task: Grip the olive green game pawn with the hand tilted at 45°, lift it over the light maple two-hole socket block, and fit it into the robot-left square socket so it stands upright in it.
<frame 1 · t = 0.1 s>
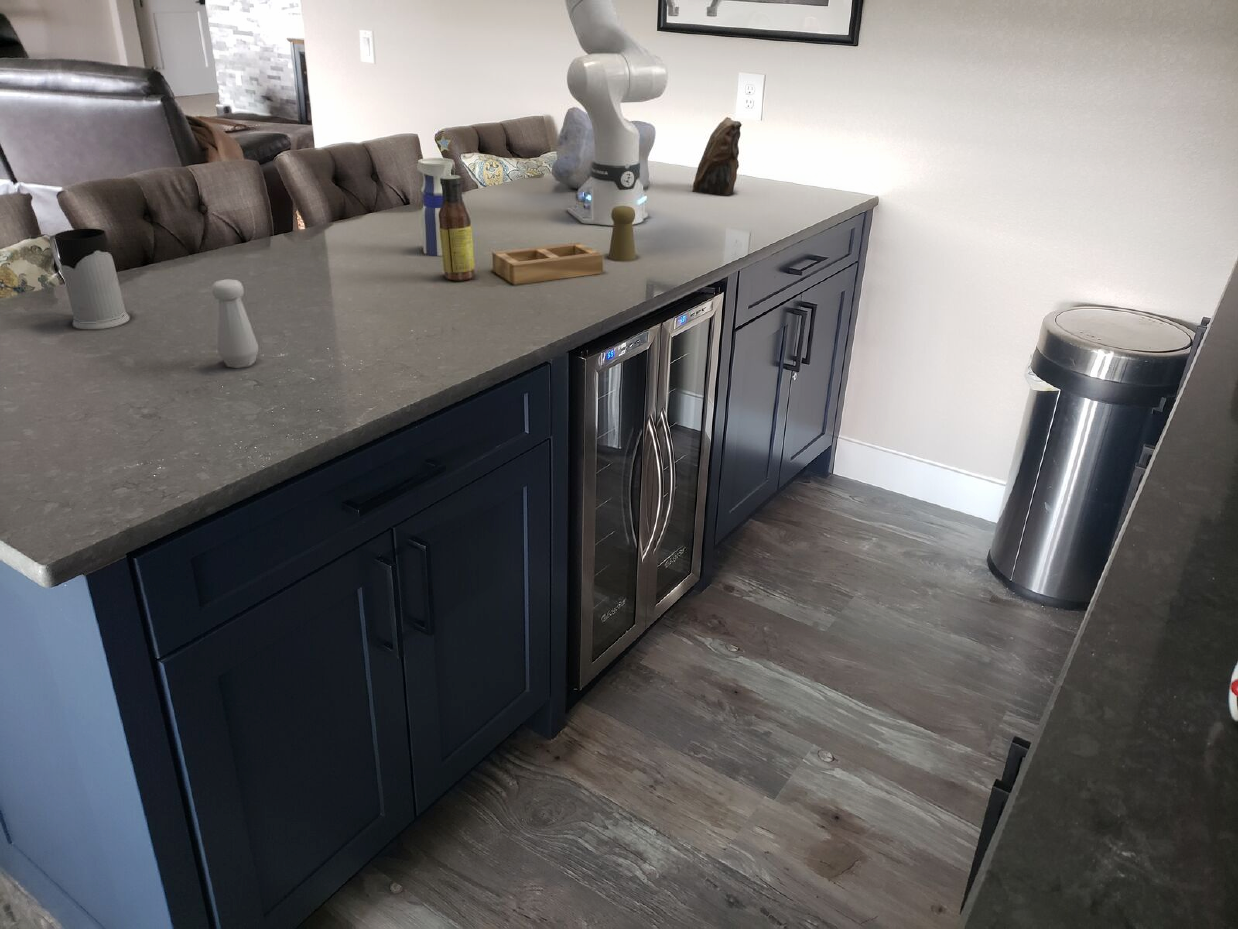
hand: (692, 16, 191), 48 cm above the countertop, tool pointing down, fingers open, 8 cm apart
salt shaker: (240, 364, 144), on the countertop
socket block: (547, 272, 193), on the countertop
sauce bottle: (459, 278, 188), on the countertop
rock: (714, 191, 272), on the countertop
rock 2: (602, 188, 273), on the countertop
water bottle: (442, 251, 206), on the countertop
olive green game pawn: (622, 258, 205), on the countertop
glass holder: (92, 319, 161), on the countertop
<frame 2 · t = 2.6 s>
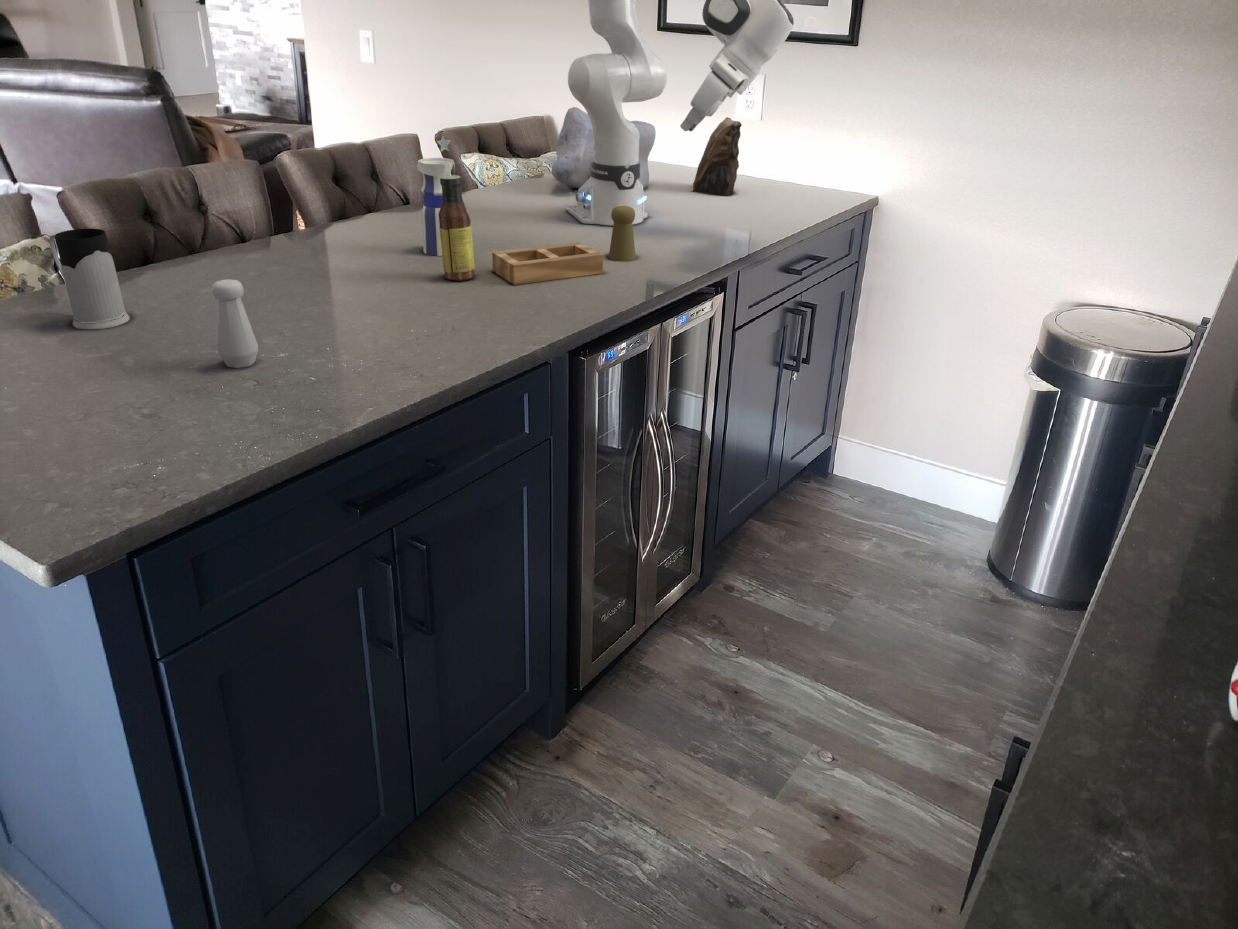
hand: (685, 129, 193), 27 cm above the countertop, tool tilted 40°, fingers open, 8 cm apart
nothing on the countertop moved.
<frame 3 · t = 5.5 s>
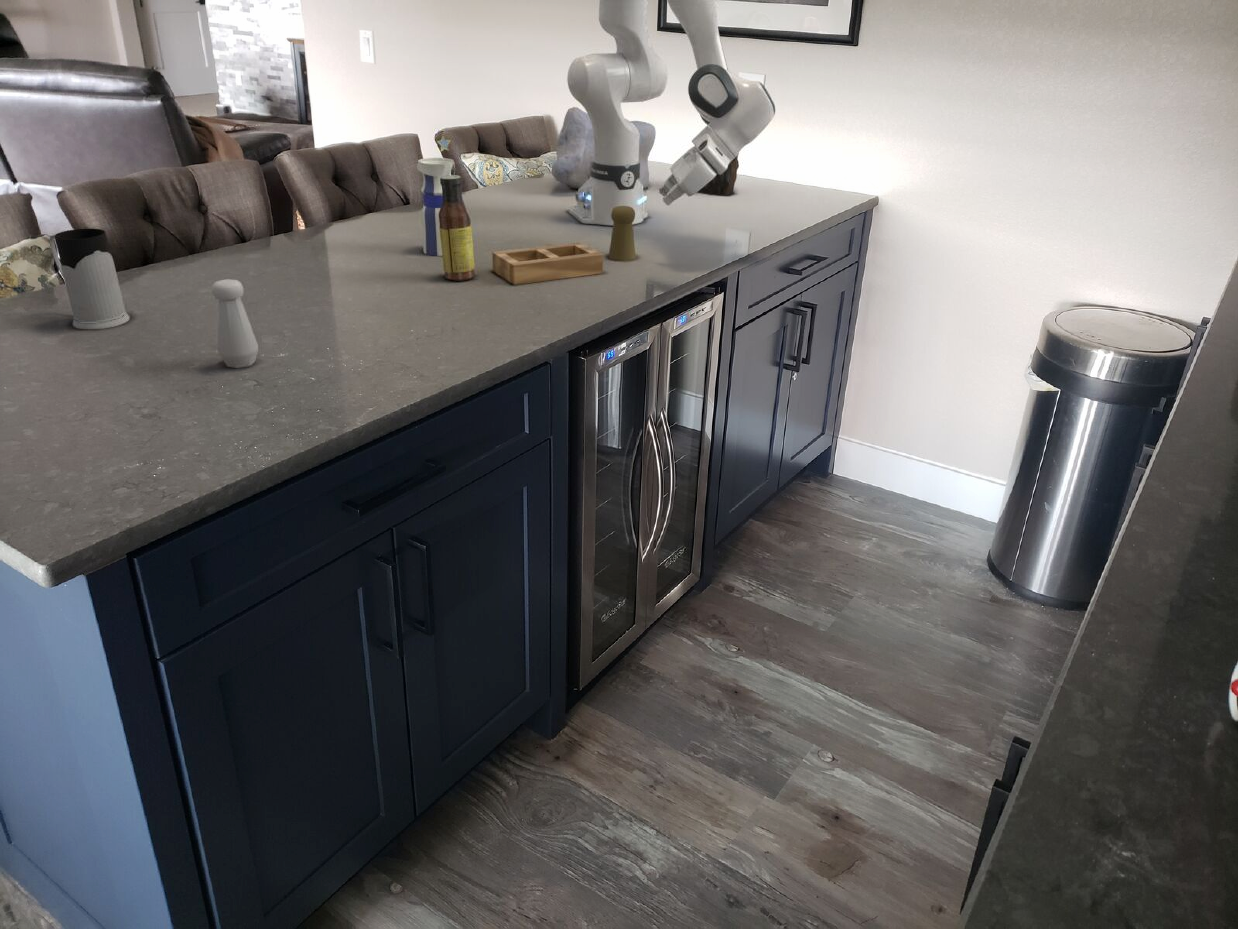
hand: (662, 197, 199), 13 cm above the countertop, tool tilted 45°, fingers open, 8 cm apart
nothing on the countertop moved.
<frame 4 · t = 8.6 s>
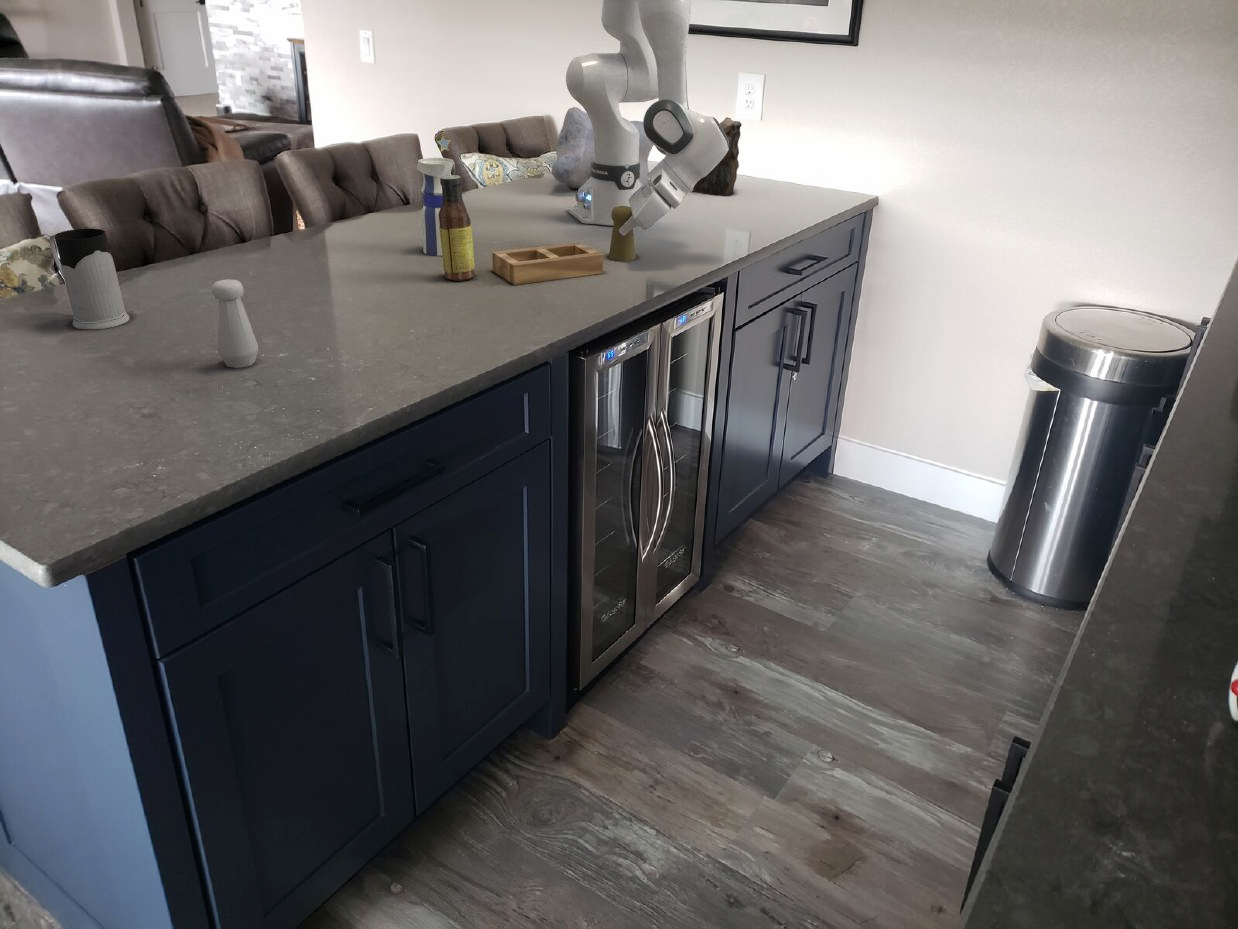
hand: (619, 229, 202), 6 cm above the countertop, tool tilted 45°, fingers closed on olive green game pawn, 4 cm apart
olive green game pawn: (622, 258, 205), on the countertop, touching gripper
everything else where it was.
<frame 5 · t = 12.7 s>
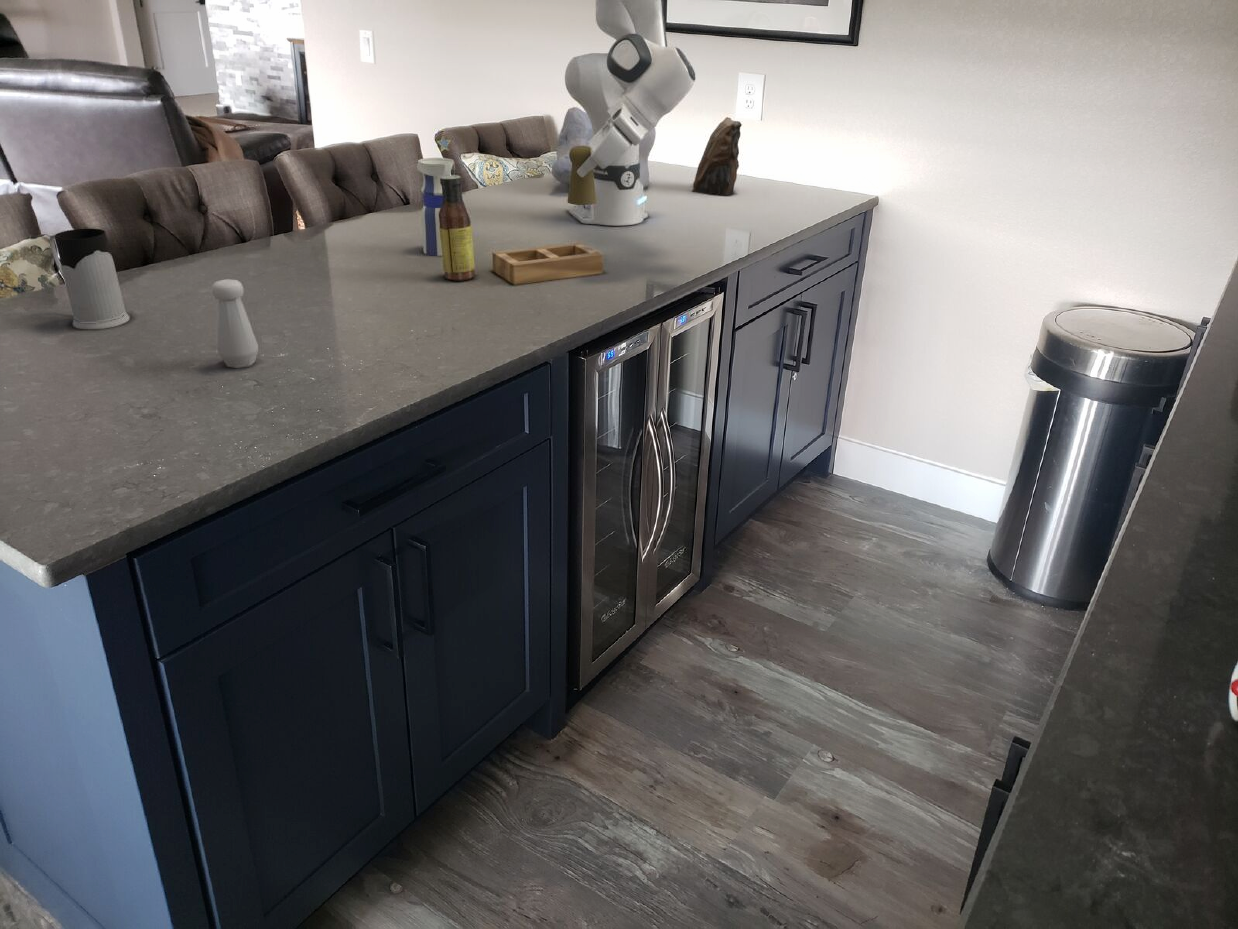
hand: (578, 171, 188), 19 cm above the countertop, tool tilted 45°, fingers closed on olive green game pawn, 4 cm apart
olive green game pawn: (582, 202, 191), point 13 cm above the countertop, touching gripper
everything else where it was.
when the fingers open (7 cm above the countertop, at t = 17.2 s): olive green game pawn stays where it is, resting in socket block.
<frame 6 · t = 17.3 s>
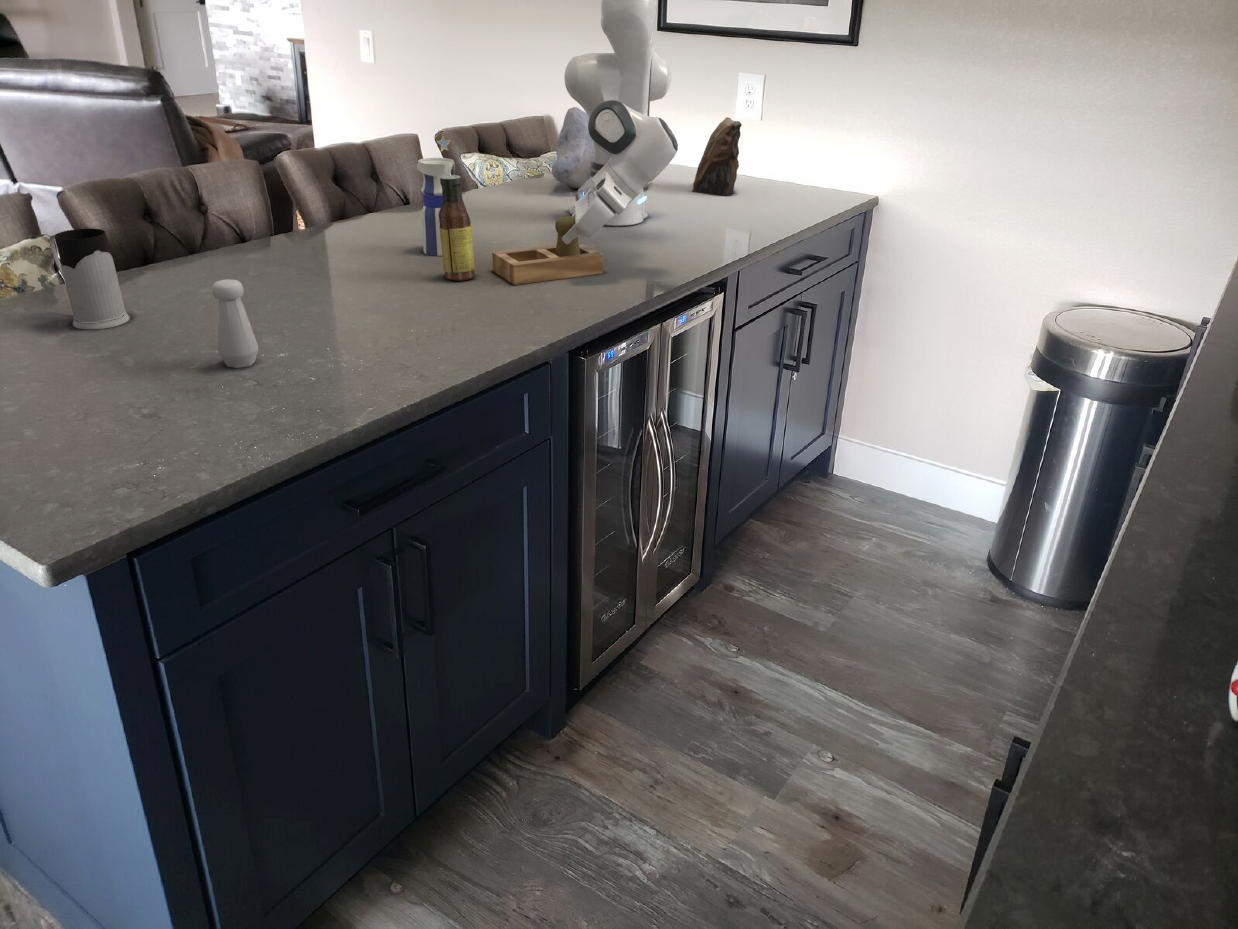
hand: (564, 236, 192), 7 cm above the countertop, tool tilted 45°, fingers open, 6 cm apart
olive green game pawn: (567, 270, 195), resting in socket block
everything else where it was.
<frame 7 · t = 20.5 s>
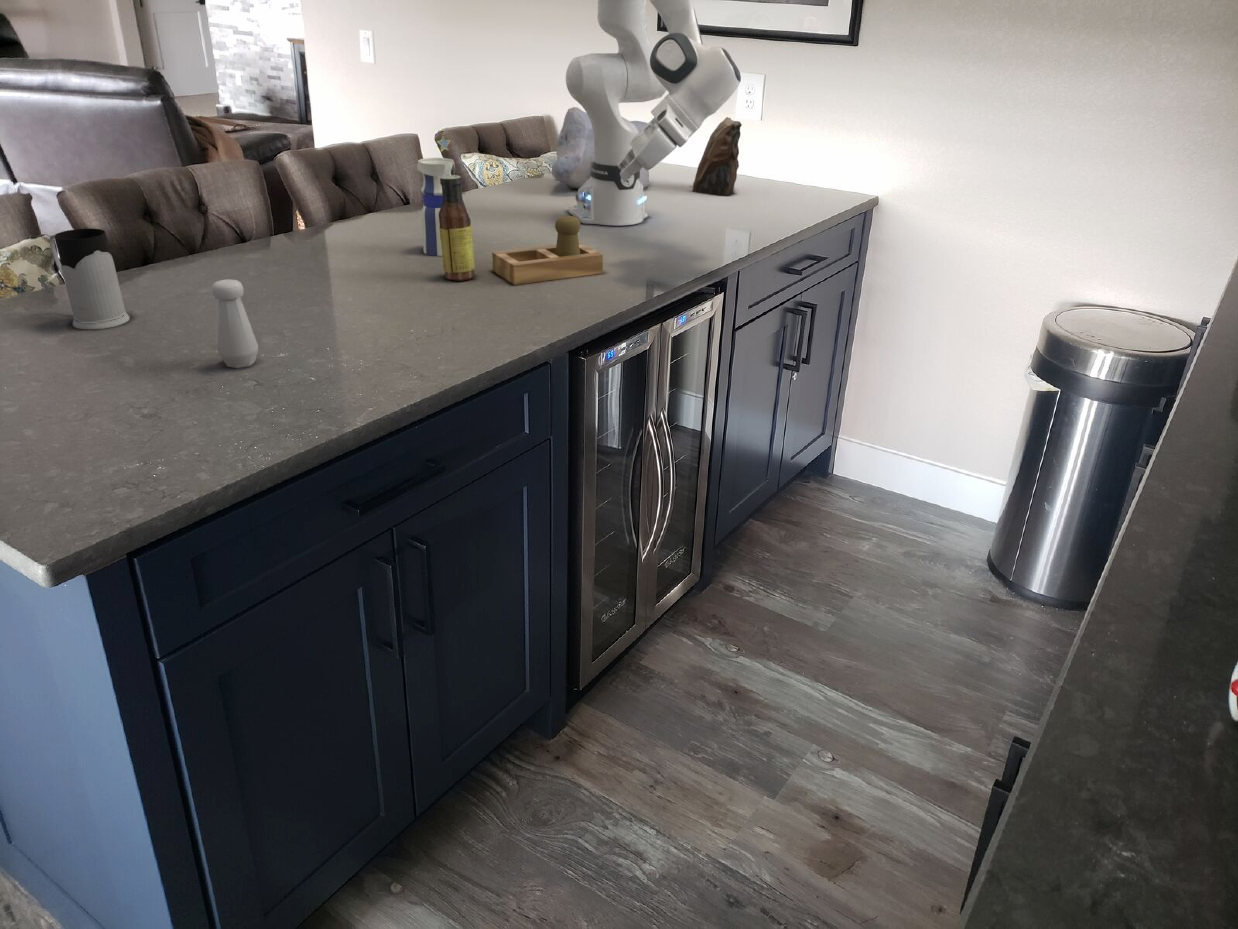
hand: (620, 173, 186), 20 cm above the countertop, tool tilted 45°, fingers open, 8 cm apart
nothing on the countertop moved.
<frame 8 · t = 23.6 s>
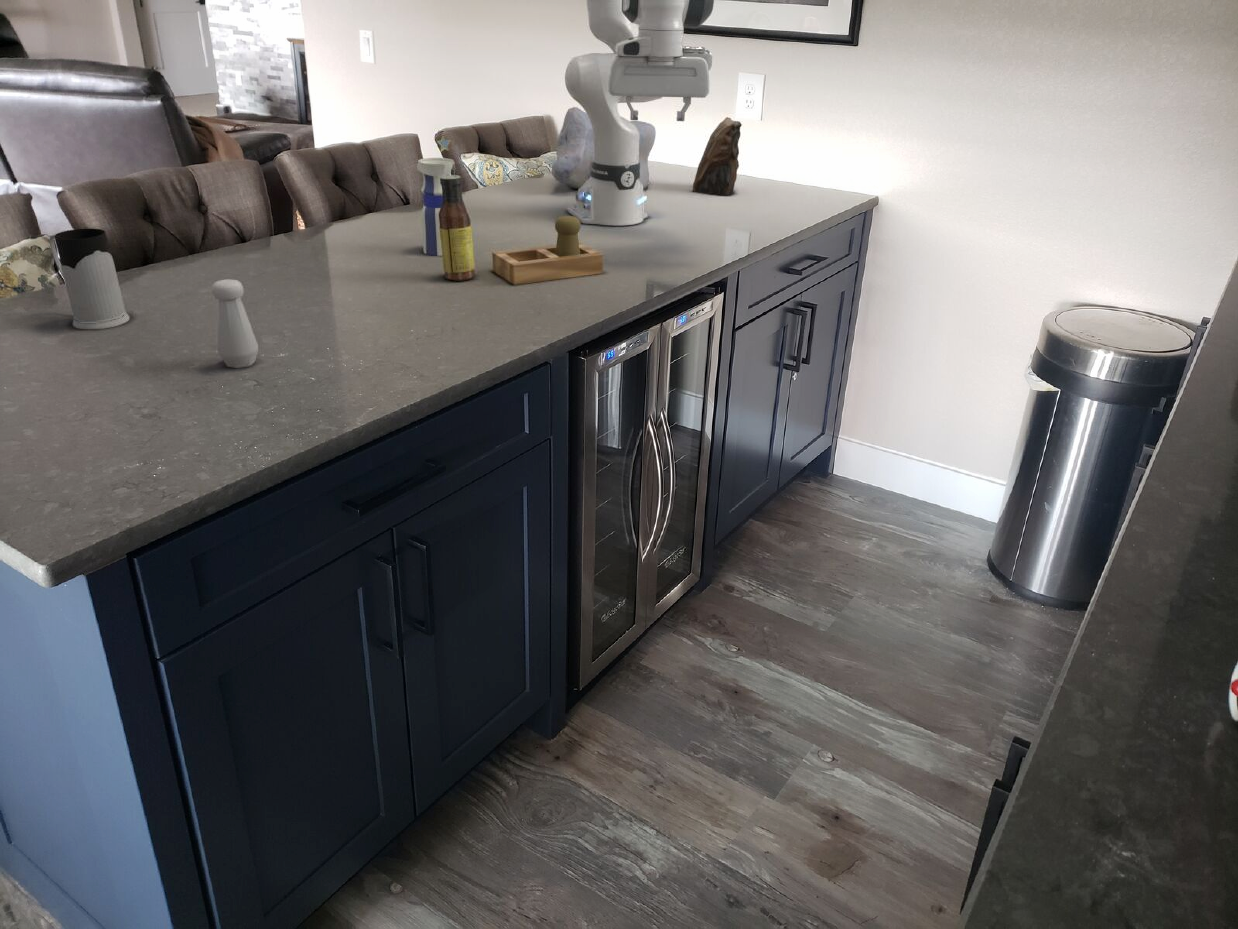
hand: (657, 120, 188), 29 cm above the countertop, tool pointing down, fingers open, 8 cm apart
nothing on the countertop moved.
at the end: olive green game pawn 0.1 cm from the target spot in the socket block, point 0.0 cm above the socket block's base; olive green game pawn tilted 0°; the gripper is holding nothing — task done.
